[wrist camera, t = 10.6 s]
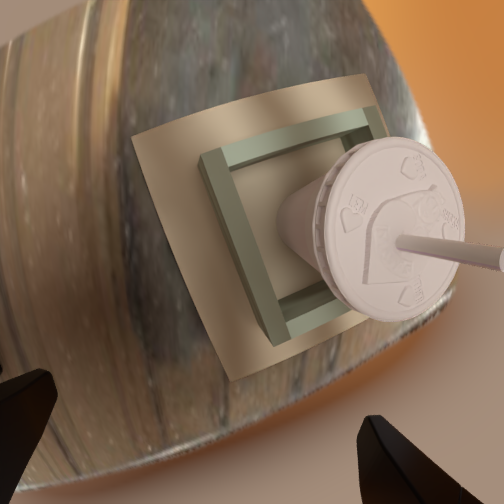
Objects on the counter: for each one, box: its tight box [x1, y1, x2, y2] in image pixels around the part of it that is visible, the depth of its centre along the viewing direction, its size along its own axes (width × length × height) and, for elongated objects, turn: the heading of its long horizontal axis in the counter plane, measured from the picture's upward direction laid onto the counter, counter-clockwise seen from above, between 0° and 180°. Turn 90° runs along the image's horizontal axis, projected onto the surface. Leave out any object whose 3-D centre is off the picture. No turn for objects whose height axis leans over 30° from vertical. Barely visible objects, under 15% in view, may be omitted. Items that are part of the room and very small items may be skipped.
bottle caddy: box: [131, 74, 390, 382], centre depth 18 cm, size 16×16×4 cm
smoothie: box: [276, 137, 504, 322], centre depth 12 cm, size 6×6×14 cm
